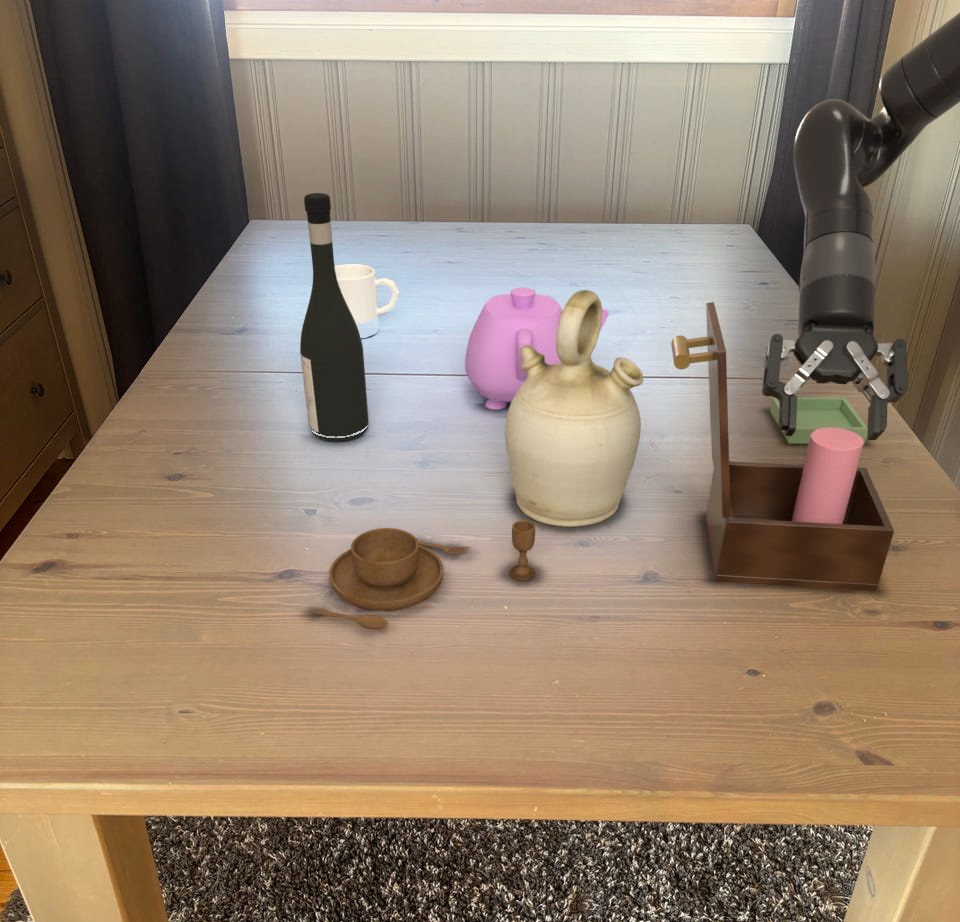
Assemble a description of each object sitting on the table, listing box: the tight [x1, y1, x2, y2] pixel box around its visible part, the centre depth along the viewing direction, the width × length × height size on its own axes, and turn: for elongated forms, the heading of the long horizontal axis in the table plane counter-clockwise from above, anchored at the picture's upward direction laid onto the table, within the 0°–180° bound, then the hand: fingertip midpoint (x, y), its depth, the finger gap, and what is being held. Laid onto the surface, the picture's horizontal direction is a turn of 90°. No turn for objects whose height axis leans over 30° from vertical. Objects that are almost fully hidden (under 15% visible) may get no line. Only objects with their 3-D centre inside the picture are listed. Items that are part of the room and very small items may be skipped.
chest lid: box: [670, 301, 731, 518], centre depth 99 cm, size 17×14×5 cm
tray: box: [769, 396, 868, 445], centre depth 132 cm, size 10×10×2 cm
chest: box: [705, 460, 895, 591], centre depth 105 cm, size 17×14×7 cm
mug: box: [335, 263, 401, 324], centre depth 159 cm, size 8×12×10 cm
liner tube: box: [792, 428, 865, 524], centre depth 103 cm, size 5×5×13 cm
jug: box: [504, 289, 644, 528], centre depth 109 cm, size 15×16×25 cm
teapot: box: [464, 287, 610, 410], centre depth 136 cm, size 20×20×15 cm
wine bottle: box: [299, 192, 369, 443], centre depth 123 cm, size 8×8×30 cm
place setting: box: [311, 519, 537, 629], centre depth 100 cm, size 18×20×6 cm
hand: (832, 435), depth 101 cm, fingers open, 8 cm apart
